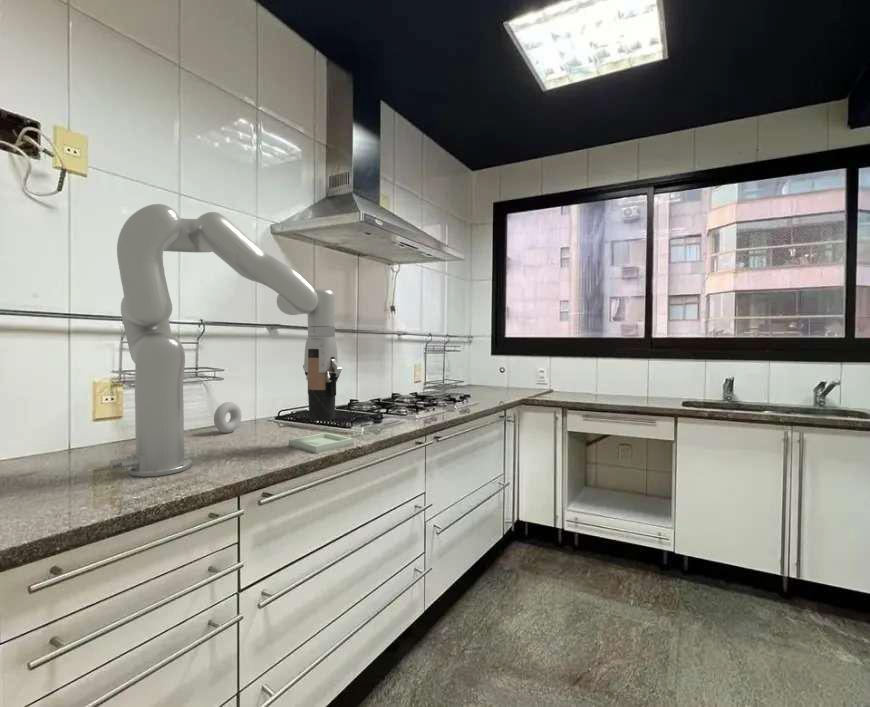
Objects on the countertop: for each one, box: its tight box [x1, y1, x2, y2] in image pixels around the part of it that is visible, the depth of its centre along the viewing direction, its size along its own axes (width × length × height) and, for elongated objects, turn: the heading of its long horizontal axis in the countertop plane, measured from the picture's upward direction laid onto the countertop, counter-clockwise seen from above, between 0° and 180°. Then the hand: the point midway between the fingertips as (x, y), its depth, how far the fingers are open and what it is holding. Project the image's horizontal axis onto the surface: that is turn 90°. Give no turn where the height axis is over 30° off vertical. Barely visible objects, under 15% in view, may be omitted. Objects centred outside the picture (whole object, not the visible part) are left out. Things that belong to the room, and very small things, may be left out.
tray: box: [288, 432, 355, 454], centre depth 130 cm, size 13×13×2 cm
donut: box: [213, 401, 242, 434], centre depth 146 cm, size 10×4×10 cm, turn 158°
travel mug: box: [307, 349, 336, 422], centre depth 129 cm, size 8×8×20 cm
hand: (321, 394), depth 129 cm, fingers closed on travel mug, 7 cm apart
